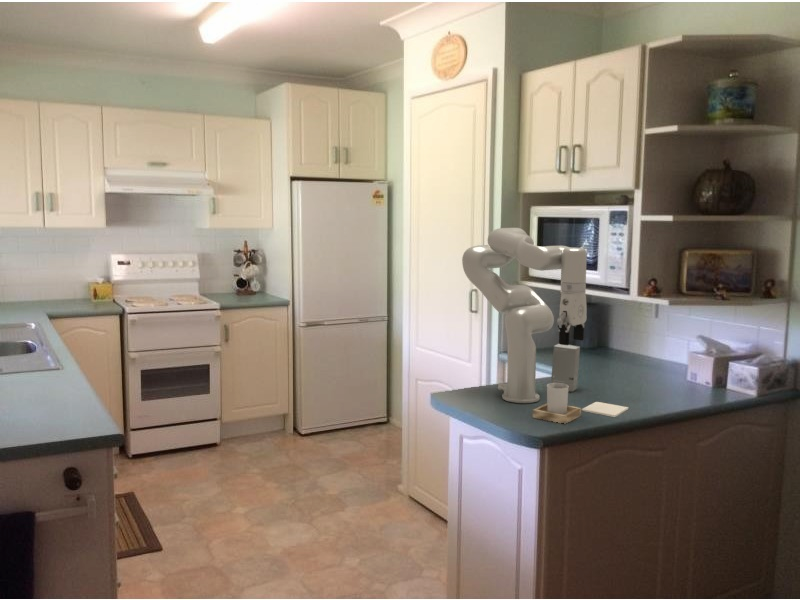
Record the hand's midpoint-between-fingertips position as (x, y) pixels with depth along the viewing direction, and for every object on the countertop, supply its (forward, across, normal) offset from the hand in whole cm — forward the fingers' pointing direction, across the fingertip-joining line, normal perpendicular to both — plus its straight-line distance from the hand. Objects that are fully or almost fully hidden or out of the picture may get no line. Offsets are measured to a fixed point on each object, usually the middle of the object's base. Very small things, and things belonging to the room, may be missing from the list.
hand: (571, 342), depth 224 cm
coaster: (+23, +11, -7) cm, 27 cm away
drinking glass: (+23, -5, +2) cm, 24 cm away
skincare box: (+24, +27, +15) cm, 39 cm away
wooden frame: (+23, -5, +2) cm, 24 cm away
